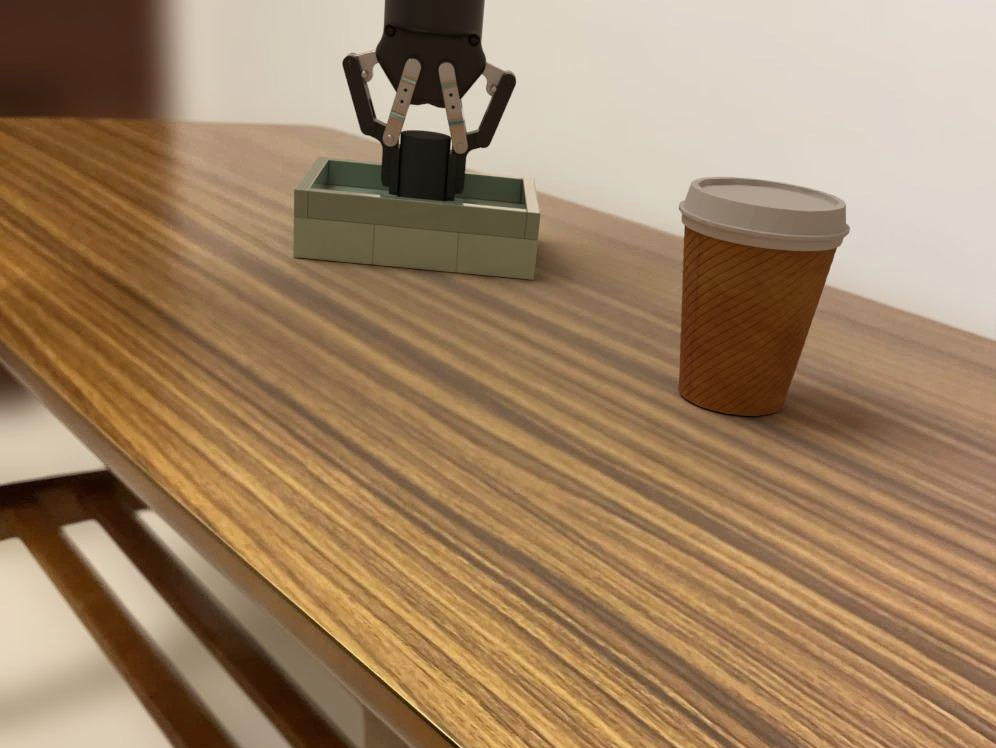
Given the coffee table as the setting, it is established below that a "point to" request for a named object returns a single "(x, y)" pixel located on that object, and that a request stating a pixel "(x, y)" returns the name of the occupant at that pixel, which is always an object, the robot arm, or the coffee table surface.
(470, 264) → the green tray
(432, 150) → the stopper
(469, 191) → the basin rim
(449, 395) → the coffee table surface
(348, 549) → the coffee table surface
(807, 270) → the disposable coffee cup
